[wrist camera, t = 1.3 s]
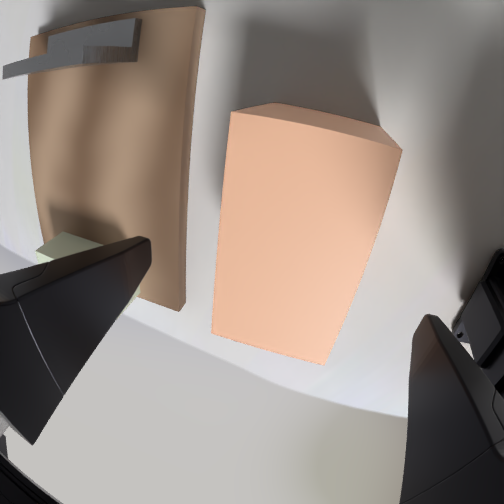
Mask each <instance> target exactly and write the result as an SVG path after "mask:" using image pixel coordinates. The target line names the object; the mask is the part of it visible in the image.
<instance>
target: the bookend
mask: <svg viewBox="0 0 504 504" xmlns="http://www.w3.org/2000/svg"><path fill="white" fill-rule="evenodd" d="M141 26H142V19H138V18H132V19H125V20H118V21H112V22H107V23H101V24H96V25H92V26H87V27H82V28H78V29H74V30H70V31H66V32H62V33H58V34H55V35H51V36H48V47H47V54H43V55H39V56H35V57H31V58H28V59H24V60H21V61H17V62H14V63H11V64H8V65H5V66H3V79H7V78H12V77H17V76H23V75H29V74H35V73H41V72H48V71H55V70H62V69H68V68H76V67H83V66H92V65H102V64H114V63H130V62H137V61H138V51H139V42H140V33H141Z"/></svg>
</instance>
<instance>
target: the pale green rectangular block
mask: <svg viewBox="0 0 504 504" xmlns="http://www.w3.org/2000/svg"><path fill="white" fill-rule="evenodd" d="M99 246H103V245H102V244H99V243H96V242H93V241H90V240H87V239H84V238H81V237H78V236H75V235H72V234H69V233H66V232H61V233H60V234H59V235H57V236H56V237H54V238H53V239H51V240H50V241H48V242H47V243H46V244H44V245H43V246H41V247H40V248H38V249H37V250H36V251H35V252H36V256H37V260H38V264H41V263H44V262H50V261H51V260H55V259H58V258H61V257H65V256H68V255H71V254H75V253H78V252H82V251H85V250H89V249H92V248H96V247H99ZM139 294H140V285H139V286H138V288H137V290H136V292H135V293H134V295H133V297H132V298H131V300H130V301H129V303H128V304H127V305H126V307H125V308H124V310H125V309H126V308H127V307H128V306H129V305H130V304H131V303H132V302H133V300H134V299H135V298H136V297H137V296H138V295H139ZM124 310H123V311H122V312H121V314H122V313H123V312H124ZM121 314H120V315H121ZM120 315H119V316H120ZM119 316H118V317H119Z"/></svg>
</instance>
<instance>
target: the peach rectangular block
mask: <svg viewBox="0 0 504 504" xmlns="http://www.w3.org/2000/svg"><path fill="white" fill-rule="evenodd" d="M401 154H402V149H401V148H400V147H399V146H398V145H397V143H396V142H395V141H394V140H393V139H392V138H391V137H390V136H389V135H388V134H387V133H386V132H385V131H384V130H383V129H382V128H381V127H380V126H377V125H373V124H370V123H366V122H363V121H359V120H355V119H351V118H347V117H343V116H339V115H335V114H330V113H326V112H322V111H317V110H312V109H307V108H302V107H297V106H292V105H287V104H281V103H275V102H273V103H268V104H263V105H258V106H254V107H249V108H245V109H240V110H236V111H232V112H231V117H230V125H229V134H228V143H227V152H226V161H225V171H224V181H223V191H222V201H221V212H220V223H219V235H218V246H217V259H216V271H215V285H214V299H213V313H212V329H211V333H212V334H215V335H218V336H221V337H224V338H228V339H231V340H234V341H237V342H240V343H244V344H247V345H250V346H254V347H257V348H260V349H264V350H267V351H271V352H274V353H278V354H282V355H285V356H289V357H293V358H296V359H300V360H304V361H308V362H312V363H316V364H320V365H325V363H326V360H327V358H328V356H329V354H330V352H331V350H332V347H333V345H334V343H335V341H336V338H337V336H338V334H339V332H340V329H341V327H342V325H343V322H344V320H345V318H346V315H347V313H348V310H349V308H350V306H351V303H352V301H353V298H354V296H355V293H356V291H357V288H358V286H359V283H360V280H361V278H362V275H363V273H364V270H365V267H366V265H367V262H368V259H369V256H370V254H371V251H372V248H373V245H374V242H375V239H376V236H377V234H378V231H379V228H380V225H381V222H382V219H383V215H384V212H385V209H386V206H387V203H388V200H389V196H390V193H391V190H392V186H393V183H394V179H395V176H396V172H397V169H398V165H399V161H400V158H401Z"/></svg>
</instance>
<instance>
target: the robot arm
mask: <svg viewBox="0 0 504 504" xmlns="http://www.w3.org/2000/svg"><path fill="white" fill-rule="evenodd" d="M503 256H504V249H499V250H498V251H496V253H495V254H494V256H493V258H492V260H491V263H490V265H489V267H488V269H487V271H486V272H485V274H484V276H483V278H482V280H481V282H480V283H479V284H478V286H477V288H476V290H475V292H474V293H473V295H472V297H471V299H470V301H469V302H468V304H467V306H466V307H465V309H464V311H463V312H462V314H461V317H460V319H459V320H458V322H457V324H456V325H455V327H454V328H453V330H452V332H451V331H450V330H449V329H448V328H447V326H446V325H445V324H444V323H443V322H442V321H441V319H440V318H439V317H438V316H435V315H431V314H426V315H425V316H424V317H423V319H422V321H421V322H420V324H419V326H418V328H417V329H416V331H415V333H414V335H413V340H412V353H411V364H410V374H409V401H408V427H407V442H406V455H405V465H404V475H403V482H402V490H401V497H400V503H399V504H504V258H503V260H501V261H500V258H501V257H503ZM151 263H152V248H151V240H150V239H149V238H146V237H143V236H136V237H132V238H128V239H125V240H121V241H117V242H114V243H110V244H106V245H103V246H99V247H96V248H92V249H89V250H85V251H82V252H78V253H75V254H71V255H68V256H65V257H61V258H58V259H55V260H51V261H50V262H44V263H41V264H38V265H34V266H31V267H28V268H24V269H20V270H16V271H13V272H8V273H4V274H0V504H63V503H61V502H60V501H59V500H57V499H56V498H54V497H53V496H52V495H50V494H49V493H48V492H47V491H45V490H44V489H43V488H41V487H40V486H39V485H38V484H36V483H35V482H34V481H33V480H31V479H30V478H29V477H28V476H27V475H25V474H24V473H23V472H22V471H21V470H20V469H18V468H17V467H16V466H15V465H14V464H13V463H12V462H11V461H10V460H9V459H8V456H7V446H6V437H5V436H4V435H3V433H4V432H5V431H6V429H7V428H8V427H9V426H10V427H11V428H12V429H13V430H14V431H16V432H17V433H18V434H19V435H20V436H21V437H23V438H24V439H25V440H26V441H27V442H29V443H30V444H31V445H33V444H34V443H35V442H36V440H37V438H38V437H39V435H40V433H41V432H42V430H43V428H44V427H45V425H46V424H47V422H48V420H49V419H50V417H51V415H52V414H53V412H54V411H55V409H56V407H57V406H58V404H59V403H60V401H61V400H62V398H63V395H64V394H65V393H66V392H67V390H68V389H69V387H70V385H71V384H72V383H73V381H74V379H75V378H76V377H77V375H78V373H79V372H80V371H81V369H82V368H83V366H84V365H85V363H86V361H87V360H88V359H89V357H90V356H91V354H92V353H93V351H94V350H95V349H96V347H97V346H98V344H99V343H100V341H101V340H102V339H103V337H104V336H105V334H106V333H107V332H108V330H109V329H110V327H111V326H112V325H113V323H114V322H115V320H116V319H117V318H118V316H119V315H120V314H121V312H122V311H123V310H124V308H125V307H126V305H127V304H128V303H129V301H130V300H131V298H132V297H133V295H134V293H135V292H136V290H137V288H138V286H139V285H140V283H141V281H142V280H143V278H144V276H145V275H146V273H147V271H148V270H149V268H150V266H151ZM460 332H461V333H460ZM458 333H459V334H458ZM460 342H464V343H469V344H470V347H471V350H472V354H473V357H474V360H473V358H472V357H471V356H470V354H469V353H468V352H467V351H466V349H465V348H464V347H463V346H462V345H461V343H460Z"/></svg>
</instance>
